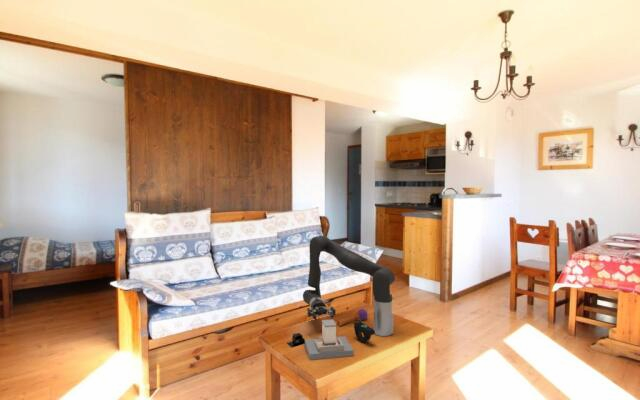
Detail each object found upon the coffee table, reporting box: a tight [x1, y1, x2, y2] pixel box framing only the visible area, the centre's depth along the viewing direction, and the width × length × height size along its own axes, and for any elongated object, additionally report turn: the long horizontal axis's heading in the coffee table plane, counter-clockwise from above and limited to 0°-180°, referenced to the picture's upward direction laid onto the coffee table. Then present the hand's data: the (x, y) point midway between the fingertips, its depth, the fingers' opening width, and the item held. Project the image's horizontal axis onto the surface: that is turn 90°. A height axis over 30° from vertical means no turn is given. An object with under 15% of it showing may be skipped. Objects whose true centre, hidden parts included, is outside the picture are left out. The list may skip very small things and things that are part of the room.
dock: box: [304, 336, 355, 361], centre depth 156 cm, size 20×14×5 cm
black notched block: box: [286, 332, 306, 348], centre depth 163 cm, size 12×7×5 cm, turn 123°
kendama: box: [336, 308, 368, 327], centre depth 188 cm, size 6×6×20 cm
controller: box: [353, 319, 375, 343], centre depth 164 cm, size 4×12×10 cm, turn 35°
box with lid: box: [321, 319, 338, 346], centre depth 154 cm, size 5×6×11 cm
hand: (324, 317), depth 166 cm, fingers open, 8 cm apart
